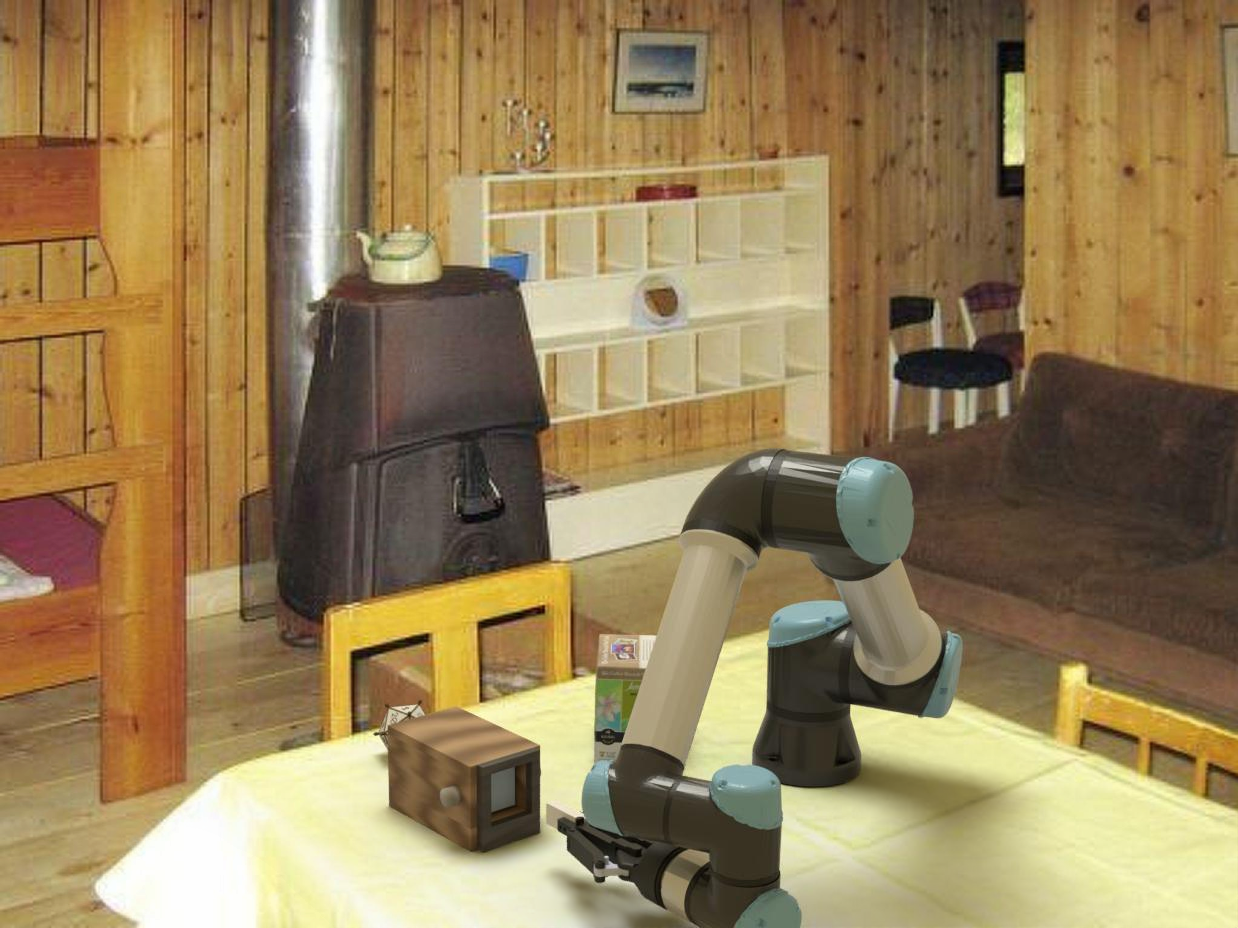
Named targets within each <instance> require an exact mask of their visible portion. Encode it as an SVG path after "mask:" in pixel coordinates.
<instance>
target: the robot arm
mask: <svg viewBox="0 0 1238 928" xmlns="http://www.w3.org/2000/svg"><path fill="white" fill-rule="evenodd" d="M913 495H914V494H913V489H912V487H911V483H910V481H909V478H908V477H907V475H906V472H904V471H903V470H902V469H901V468H900V467H899V466H898V465H897V464H896V463H895V464H894V463H893V462H889V461H884V460H878V459H876V458H872V457H868V456H862V457H856V456H855V457H854V456H847V455H846V456H843V455H834V454H825V453H824V454H823V453H816V452H807V451H799V450H789V449H785V448H779V447H777V448H775V447H774V448H773V447H772V448H770V447H769V448H763V449H762V448H761V449H758V450H755V451H752V452H748V453H747V454H744V455H743V456H741V457H739V458H737V459H735V460H733V461H732V462H731V463H730V464H728V465H727V466H725V467H724V468H723V469H722V470H721V471H719V473H717V474H716V475H715V476H714V477H713V478H712V479H711V480H710V481H709V482H708V483H707V484H706V486H705V487H704V488H703V489H702V491H701V492H700V494H699V495H698V496H697V498H696V499H695V501H694V503H692V506H691V507H690V509H689V512H688V513H687V515H686V517H685V520H684V522H683V523H684V524H683V525H682V529H681V531H680V533H679V537H678V545H679V547H680V548H681V550H682V552H683V553H682V556H681V560H680V561H679V565H678V568H677V572H676V576H675V578H674V581H673V584H672V587H671V590H670V594H669V596H668V600H667V601H666V606H665V609H664V611H663V616H662V618H661V621H660V624H659V627H658V631H657V633H656V635H655V636H656V639H655V642H654V645H653V648H652V651H651V655H650V658H649V661H648V664H647V667H646V670H645V673H644V676H643V679H642V682H641V685H640V688H639V692H638V695H637V698H636V701H635V704H634V707H633V710H632V713H631V716H630V719H629V722H628V725H627V728H626V732H625V735H624V738H623V741H622V744H621V747H620V751H619V753H618V756H617V758H616V760H615V761H614V760H609V761H606V760H601V761H598V762H596V763H594V764H593V765H592V767H591V768H590V771H589V772H588V773H587V774H586V776H585V779H584V782H583V787H582V791H581V809H582V811H579V810H577V809H574V808H573V807H571V806H569V805H567V804H565V803H563V802H562V801H559V800H557V799H554V800H551V801H548V802H546V803H545V809H546V810H545V816H546V817H545V823H546V825H548V826H549V827H551V828H554V829H555V830H557V831H558V832H559V833H560V834H562V835H564V836H566V851H567V852H568V853H569V854H570V855H571V856H572V857H574V858H575V859H576V860H577V861H578V862H579V863H580V864H582V866H583V867H584V868H585V869H586V870H588V871H589V872H590V873H591V874H592V875H593V880H594V882H595V883H597V884H603V883H605V882H606V878H608V877H618V879H620V881H624V882H629V883H632V884H634V886H635V887H636V888H637V890H638V892H639V893H640V894H641V896H642V897H643V898H644V899H646V900H648V901H649V902H651V903H652V904H655V905H656V906H658V907H660V908H662V909H664V910H666V911H669V912H670V913H672V914H675V915H676V916H678V917H680V918H682V919H684V920H686V921H688V923H689V922H690V923H691V924H692V925H694V926H696V927H698V928H801V925H802V914H803V913H802V909H801V908H800V906H799V903H798V901H797V899H796V898H795V897H794V895H792V894H790V893H789V892H788V890H786V889H782V888H781V870H780V865H781V847H782V846H781V844H782V829H783V827H782V826H783V821H784V813H783V805H782V785H781V784H786V785H791V786H798V787H828V786H835V785H840V784H843V783H846V782H849V781H851V780H853V779H854V778H856V777H857V776H858V775H859V774H860V772H861V768H862V752H861V749H860V744H859V741H858V737H857V735H856V731H855V728H854V724H853V721H852V717H851V707H852V706H859V707H864V708H870V709H875V710H882V711H889V712H893V713H897V714H898V713H899V714H904V715H910V716H915V717H918V718H919V719H923V718H931V719H942V718H944V717H946V715H947V714H948V713H949V711H950V710H951V708H952V707H951V706H952V704H953V702H954V698H955V695H956V691H957V687H958V682H959V677H960V671H961V666H962V659H963V639H962V637H961V636H960V635H959V634H958V633H953V632H951V631H950V630H946V631H942V630H940V628H939V625H937V623H936V621H935V620H934V619H933V618H932V617H931V616H930V615H929V614H928V613H926V611H924V610H923V609H920V607H919V605H918V601H917V598H916V596H915V593H914V591H913V588H912V585H911V583H910V580H909V577H908V574H907V571H906V569H905V566H904V564H903V561H902V559H901V558H902V556H903V555H904V554H905V552H906V551H907V548H908V546H909V544H910V542H911V541H910V540H911V538H912V534H913V528H914V519H915V509H914V505H913V504H912V503H913V501H914V500H913V499H914V496H913ZM766 548H773V549H779V550H786V551H794V552H798V553H799V552H800V553H807V555H808V557H809V559H810V562H812V565H813V566H814V567H815V569H816V570H817V571H818V572H820V573H821V574H823V576H825V577H826V578H829V579H831V580H833V583H834V584H835V587H836V590H837V591H838V594H839V596H840V598H841V601H840V600H828V599H827V600H823V599H822V600H810V601H802V602H798V603H793V604H790V605H787V606H783V607H782V608H780V609H778V610H777V611H776V612H775V613H773V615H772V616H771V618H770V621H769V628H768V639H767V641H766V647H767V658H766V659H767V663H766V664H767V665H766V667H767V669H766V670H767V671H766V702H765V704H766V709H765V713H764V716H763V719H762V721H761V724H760V727H759V730H758V731H757V734H756V738H755V740H754V742H753V745H752V753H751V764H745V765H741V764H737V763H736V764H730V765H727V766H723V767H721V768H719V769H718V770H716V771H715V772H714V773H713V775H712V777H711V780H708V779H701V778H697V777H693V776H686V775H684V771H685V767H686V763H687V761H688V757H689V754H690V750H691V748H692V744H693V742H694V737H695V734H696V731H697V728H698V725H699V723H700V719H701V715H702V712H703V710H704V706H705V702H706V699H707V697H708V694H709V691H710V687H711V684H712V680H713V677H714V674H715V671H716V667H717V665H718V661H719V659H720V656H721V655H720V654H721V652H722V648H723V644H724V643H725V639H726V636H727V632H728V631H729V630H728V629H729V627H730V624H731V619H732V617H733V612H734V610H735V607H736V604H737V601H738V597H739V594H740V592H741V589H742V584H743V581H744V579H745V576H746V573H747V572H749V571H751V570H753V569H755V568H756V567H757V565H758V563H759V559H760V556H761V552H762V551H763V550H765V549H766Z"/></svg>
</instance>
